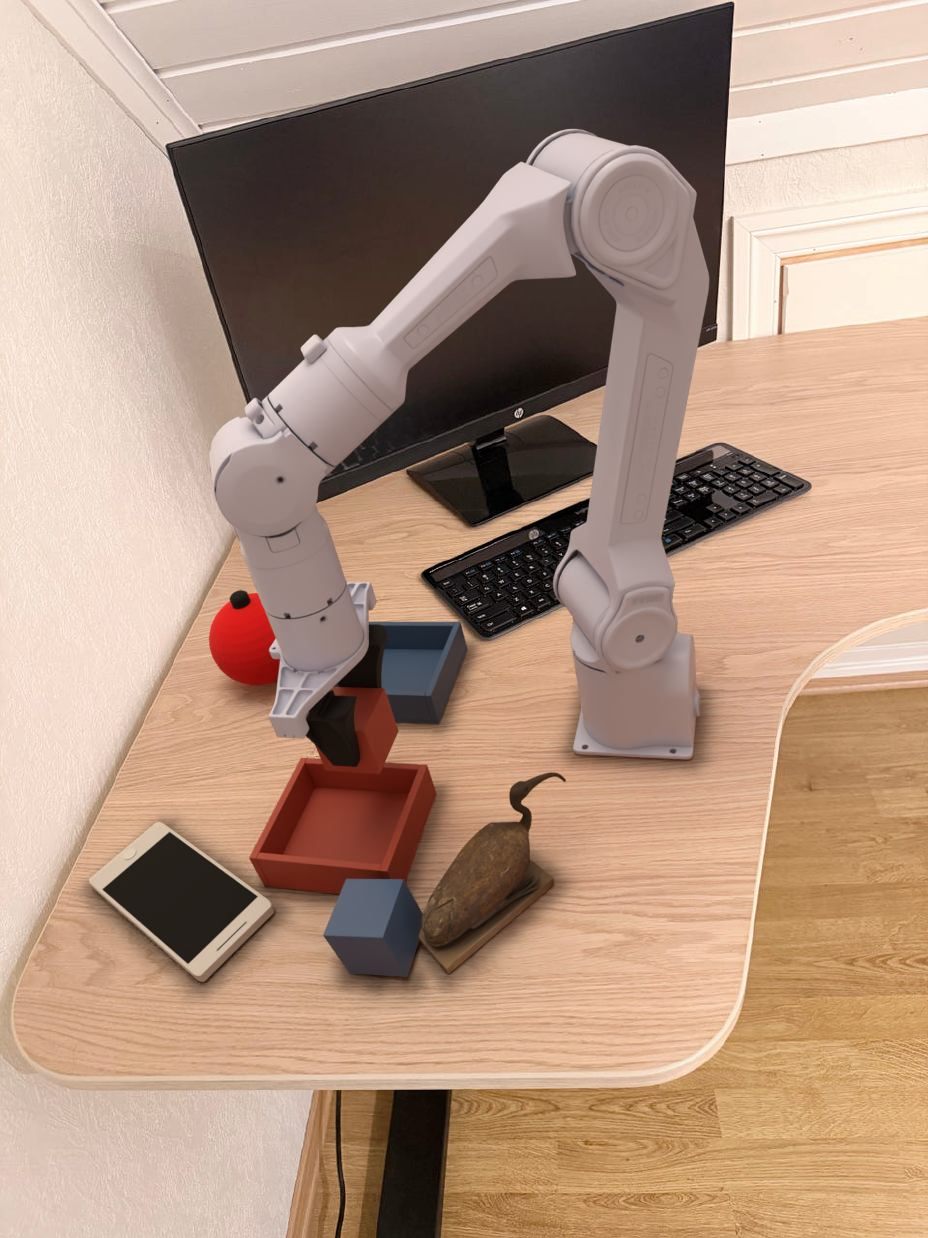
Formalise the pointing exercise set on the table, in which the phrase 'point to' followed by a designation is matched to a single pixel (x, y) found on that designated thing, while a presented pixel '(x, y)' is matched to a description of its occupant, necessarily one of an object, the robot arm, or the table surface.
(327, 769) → the red block
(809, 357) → the table surface
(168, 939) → the smartphone
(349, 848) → the red bin
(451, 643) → the blue bin
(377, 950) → the blue block
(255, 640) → the ornament
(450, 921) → the figurine
